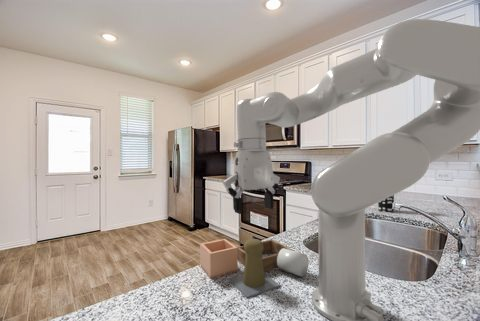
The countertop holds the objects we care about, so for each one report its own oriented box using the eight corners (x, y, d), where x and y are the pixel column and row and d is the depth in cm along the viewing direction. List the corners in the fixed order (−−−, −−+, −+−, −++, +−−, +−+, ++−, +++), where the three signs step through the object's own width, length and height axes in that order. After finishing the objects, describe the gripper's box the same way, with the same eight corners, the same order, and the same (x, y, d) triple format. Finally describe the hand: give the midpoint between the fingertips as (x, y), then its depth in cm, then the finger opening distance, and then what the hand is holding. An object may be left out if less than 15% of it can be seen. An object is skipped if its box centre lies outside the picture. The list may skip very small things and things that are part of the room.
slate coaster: (279, 286, 58) (279, 285, 58) (246, 298, 53) (246, 296, 53) (258, 270, 67) (258, 268, 67) (228, 279, 62) (228, 277, 62)
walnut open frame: (294, 263, 71) (293, 250, 71) (255, 274, 64) (255, 260, 64) (271, 250, 82) (271, 239, 82) (236, 259, 75) (236, 247, 75)
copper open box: (237, 271, 67) (237, 247, 67) (210, 278, 63) (210, 253, 63) (225, 260, 74) (225, 238, 74) (200, 266, 70) (200, 243, 70)
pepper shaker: (238, 284, 59) (238, 242, 59) (248, 273, 64) (248, 235, 64) (260, 290, 56) (259, 246, 56) (268, 278, 62) (268, 238, 62)
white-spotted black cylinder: (381, 208, 146) (380, 178, 146) (396, 210, 140) (395, 178, 140) (376, 210, 141) (376, 179, 141) (391, 213, 135) (391, 179, 135)
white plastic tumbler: (308, 272, 66) (308, 251, 66) (299, 280, 61) (298, 258, 61) (287, 264, 70) (287, 245, 70) (277, 272, 66) (276, 251, 66)
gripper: (229, 145, 53) (231, 218, 53) (286, 145, 61) (288, 208, 61) (216, 147, 59) (219, 212, 59) (269, 147, 68) (271, 204, 67)
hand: (254, 210), depth 60 cm, fingers open, 9 cm apart
